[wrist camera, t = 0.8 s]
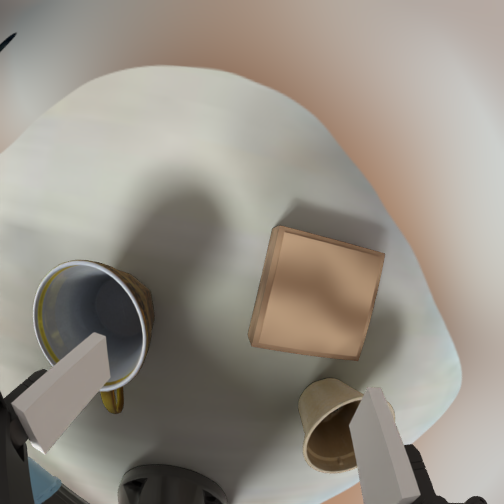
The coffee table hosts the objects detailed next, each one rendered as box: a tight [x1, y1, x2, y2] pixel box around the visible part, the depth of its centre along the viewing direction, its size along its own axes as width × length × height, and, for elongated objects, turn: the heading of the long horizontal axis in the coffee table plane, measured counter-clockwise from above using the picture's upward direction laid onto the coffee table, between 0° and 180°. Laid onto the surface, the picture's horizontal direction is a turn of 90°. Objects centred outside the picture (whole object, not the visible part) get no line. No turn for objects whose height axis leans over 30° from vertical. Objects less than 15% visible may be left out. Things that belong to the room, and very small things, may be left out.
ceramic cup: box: [33, 260, 155, 414], centre depth 23 cm, size 13×10×10 cm
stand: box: [248, 226, 385, 361], centre depth 28 cm, size 11×11×4 cm
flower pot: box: [298, 378, 395, 473], centre depth 25 cm, size 9×9×9 cm
